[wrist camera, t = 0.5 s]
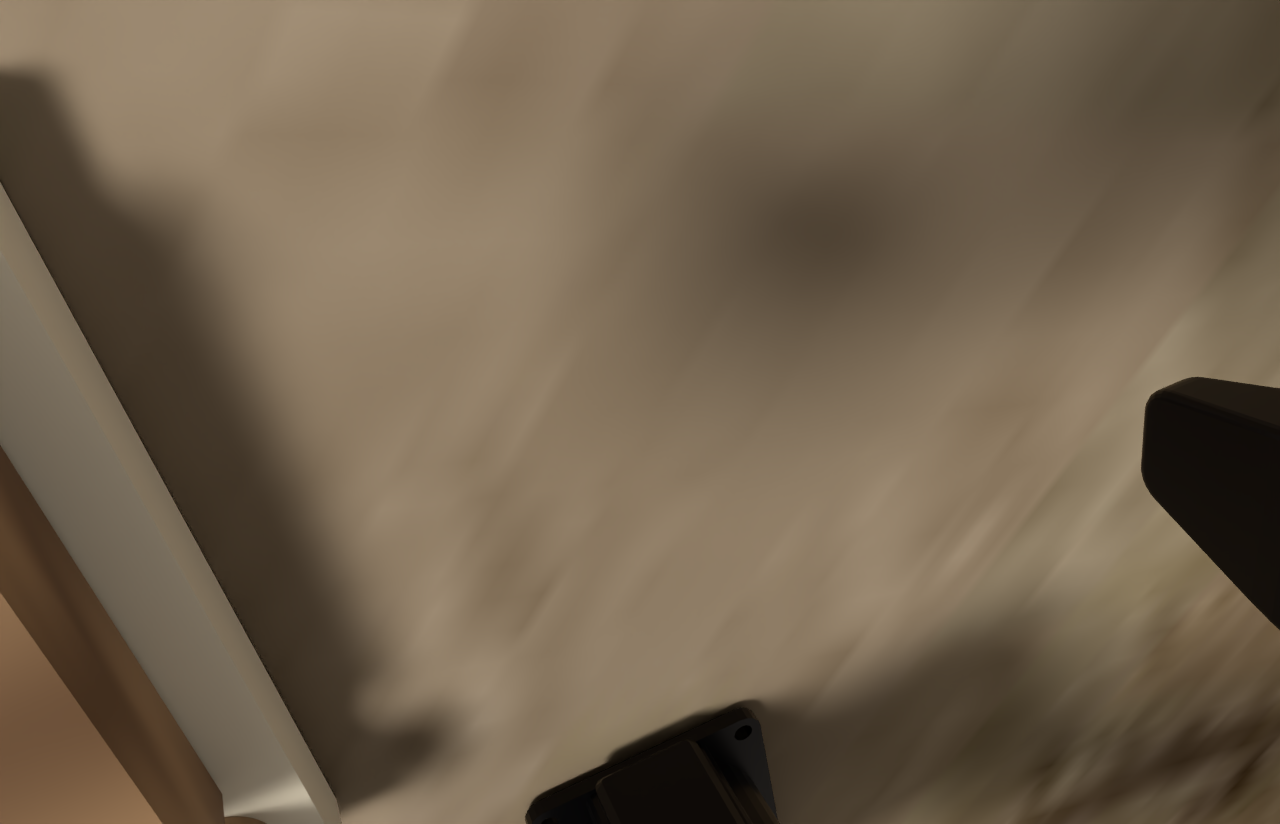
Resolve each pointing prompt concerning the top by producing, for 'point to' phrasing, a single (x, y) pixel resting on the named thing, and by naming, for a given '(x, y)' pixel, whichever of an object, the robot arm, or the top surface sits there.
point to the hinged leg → (79, 696)
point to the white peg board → (141, 550)
